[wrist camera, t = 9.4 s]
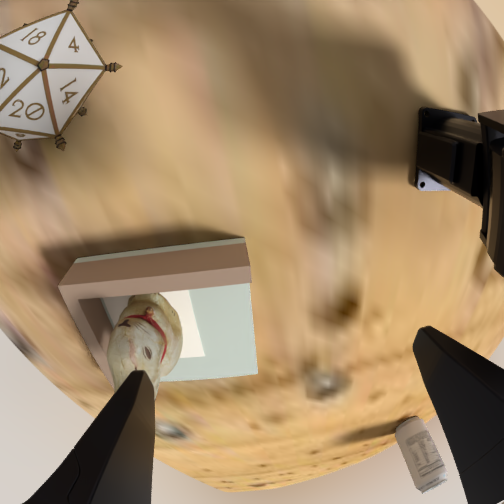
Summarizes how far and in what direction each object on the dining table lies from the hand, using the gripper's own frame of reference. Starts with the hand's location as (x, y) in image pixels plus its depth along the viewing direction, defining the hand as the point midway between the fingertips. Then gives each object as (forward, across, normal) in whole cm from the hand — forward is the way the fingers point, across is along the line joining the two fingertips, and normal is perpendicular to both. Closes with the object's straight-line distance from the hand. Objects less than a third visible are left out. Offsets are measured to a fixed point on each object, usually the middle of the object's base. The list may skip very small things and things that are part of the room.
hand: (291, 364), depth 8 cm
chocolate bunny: (+12, +8, +8) cm, 17 cm away
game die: (+13, +11, -11) cm, 20 cm away
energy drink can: (+13, -26, +43) cm, 52 cm away
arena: (+13, +7, +9) cm, 17 cm away
